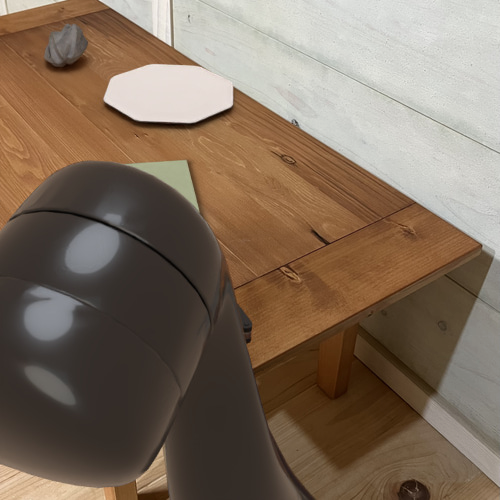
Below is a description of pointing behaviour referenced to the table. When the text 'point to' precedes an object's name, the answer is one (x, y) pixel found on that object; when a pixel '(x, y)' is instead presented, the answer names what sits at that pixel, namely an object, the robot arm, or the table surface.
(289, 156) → the table surface
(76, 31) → the grey rock
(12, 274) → the robot arm
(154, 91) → the plate
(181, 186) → the sage mat
